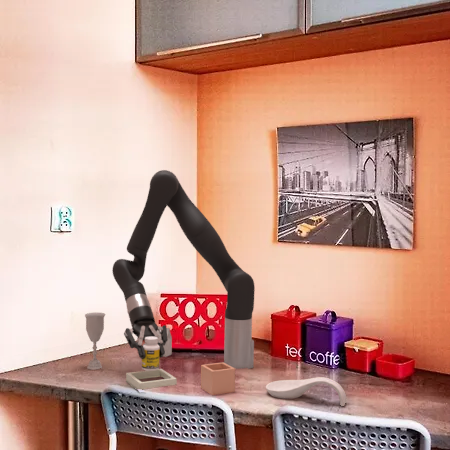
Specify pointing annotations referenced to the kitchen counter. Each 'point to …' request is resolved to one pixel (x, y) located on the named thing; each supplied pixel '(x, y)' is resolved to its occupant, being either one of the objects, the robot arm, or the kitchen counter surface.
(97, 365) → the chalice
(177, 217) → the robot arm
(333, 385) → the spoon rest
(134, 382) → the tray
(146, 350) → the supplement bottle
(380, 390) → the kitchen counter surface
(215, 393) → the tan open box
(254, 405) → the kitchen counter surface
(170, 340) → the tea bag
